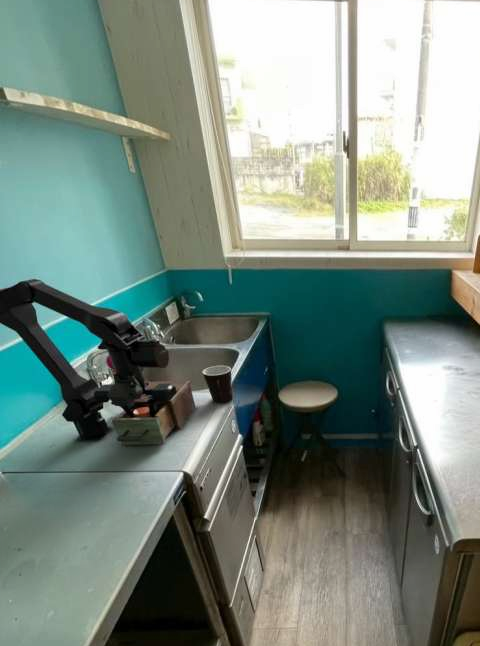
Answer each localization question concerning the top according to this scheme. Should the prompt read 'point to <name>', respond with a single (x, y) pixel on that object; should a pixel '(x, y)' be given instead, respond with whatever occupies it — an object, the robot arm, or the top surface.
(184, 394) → the cabinet
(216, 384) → the dark brown cup
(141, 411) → the orange cylinder
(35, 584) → the top surface
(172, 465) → the top surface
